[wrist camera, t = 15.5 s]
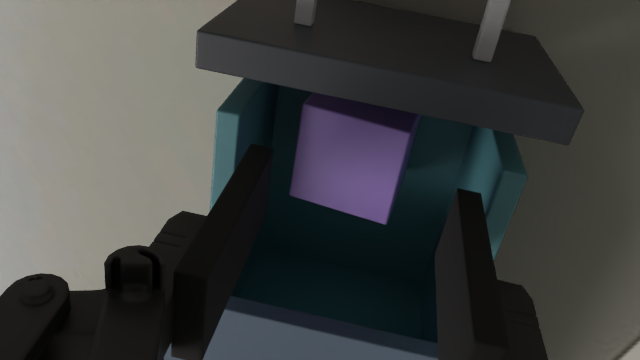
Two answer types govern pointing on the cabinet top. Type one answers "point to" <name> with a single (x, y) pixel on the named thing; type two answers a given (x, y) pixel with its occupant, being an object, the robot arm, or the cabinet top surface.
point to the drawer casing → (303, 337)
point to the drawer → (426, 156)
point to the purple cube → (352, 155)
